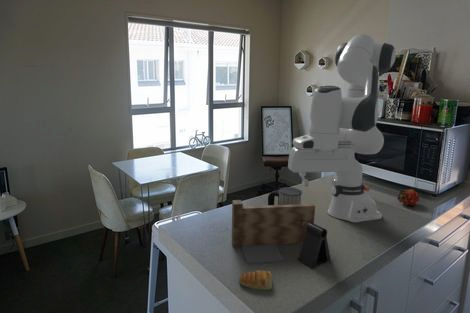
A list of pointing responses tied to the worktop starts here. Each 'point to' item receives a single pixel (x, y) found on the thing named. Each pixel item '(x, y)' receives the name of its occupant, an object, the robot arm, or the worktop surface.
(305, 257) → the phone stand
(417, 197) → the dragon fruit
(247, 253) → the door mat
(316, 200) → the worktop surface
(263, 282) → the pastry
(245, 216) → the door panel
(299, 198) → the milk frother
